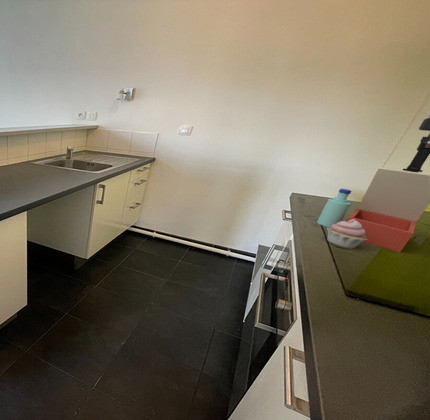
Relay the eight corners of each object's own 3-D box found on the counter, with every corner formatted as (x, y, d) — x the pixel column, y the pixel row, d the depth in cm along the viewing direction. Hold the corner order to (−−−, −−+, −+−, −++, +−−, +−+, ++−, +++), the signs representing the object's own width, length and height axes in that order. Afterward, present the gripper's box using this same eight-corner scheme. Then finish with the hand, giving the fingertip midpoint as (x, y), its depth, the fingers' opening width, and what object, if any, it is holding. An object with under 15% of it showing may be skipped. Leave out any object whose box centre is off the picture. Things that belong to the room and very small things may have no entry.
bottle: (334, 226, 99) (354, 189, 93) (338, 231, 95) (360, 193, 89) (314, 222, 103) (332, 186, 96) (317, 226, 98) (337, 189, 92)
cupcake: (315, 236, 90) (328, 211, 86) (349, 242, 86) (364, 217, 82) (328, 248, 82) (343, 221, 78) (366, 255, 78) (384, 228, 74)
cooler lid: (449, 178, 75) (449, 176, 75) (378, 168, 86) (379, 167, 86) (416, 221, 86) (417, 220, 86) (357, 208, 97) (358, 206, 97)
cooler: (398, 254, 80) (413, 233, 77) (337, 236, 91) (348, 217, 87) (402, 241, 89) (416, 222, 86) (346, 226, 100) (357, 208, 97)
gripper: (468, 118, 70) (417, 195, 79) (466, 119, 77) (419, 190, 86) (424, 116, 76) (381, 188, 85) (425, 118, 83) (385, 184, 92)
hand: (400, 189), depth 86 cm, fingers closed
